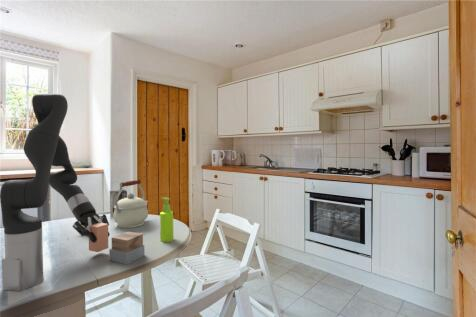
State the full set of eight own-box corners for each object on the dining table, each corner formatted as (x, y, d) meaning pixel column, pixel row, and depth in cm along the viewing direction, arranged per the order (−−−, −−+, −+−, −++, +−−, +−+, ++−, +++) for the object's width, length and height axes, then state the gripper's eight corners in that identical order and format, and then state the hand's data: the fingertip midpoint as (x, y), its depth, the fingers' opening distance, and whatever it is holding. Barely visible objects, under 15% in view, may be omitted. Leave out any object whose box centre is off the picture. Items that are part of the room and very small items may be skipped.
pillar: (97, 252, 101) (97, 227, 101) (88, 250, 103) (88, 225, 103) (108, 247, 105) (108, 223, 105) (99, 246, 107) (99, 222, 107)
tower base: (126, 265, 96) (126, 253, 95) (109, 260, 99) (109, 249, 99) (144, 255, 104) (144, 244, 104) (128, 252, 107) (127, 241, 107)
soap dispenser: (167, 236, 126) (166, 196, 125) (175, 239, 121) (175, 197, 121) (156, 239, 121) (156, 197, 121) (165, 243, 117) (164, 199, 116)
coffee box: (124, 213, 171) (124, 189, 170) (127, 215, 166) (127, 190, 165) (109, 215, 165) (109, 190, 164) (112, 217, 160) (112, 192, 159)
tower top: (127, 252, 96) (127, 240, 96) (111, 249, 99) (111, 237, 99) (142, 245, 104) (142, 234, 103) (128, 242, 107) (128, 231, 107)
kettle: (130, 231, 133) (129, 184, 132) (103, 228, 139) (102, 182, 138) (159, 219, 156) (159, 178, 155) (135, 216, 162) (134, 177, 161)
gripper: (68, 204, 100) (89, 239, 96) (100, 198, 113) (121, 228, 109) (59, 216, 102) (80, 250, 98) (92, 209, 115) (112, 239, 111)
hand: (101, 238), depth 103 cm, fingers closed on pillar, 5 cm apart
